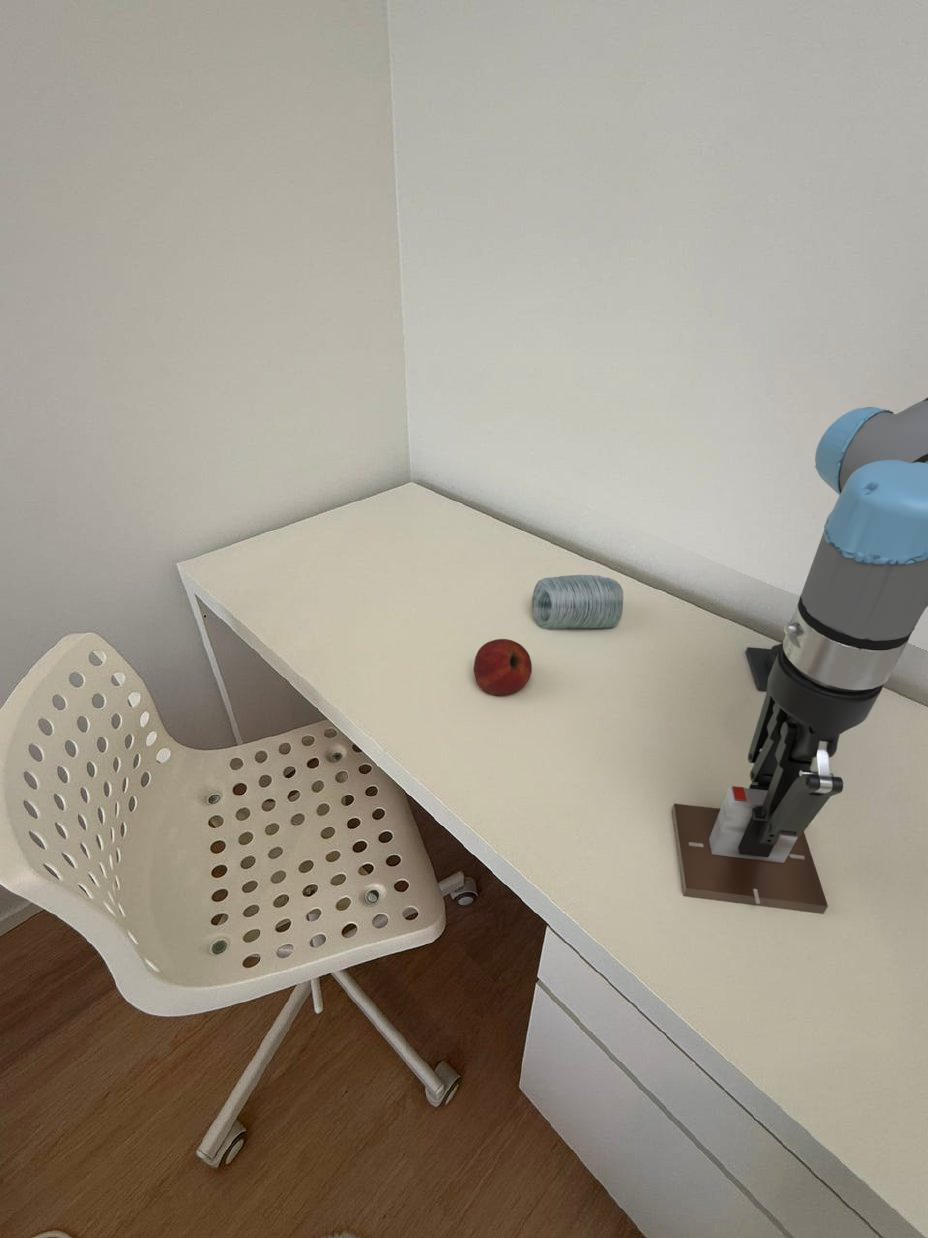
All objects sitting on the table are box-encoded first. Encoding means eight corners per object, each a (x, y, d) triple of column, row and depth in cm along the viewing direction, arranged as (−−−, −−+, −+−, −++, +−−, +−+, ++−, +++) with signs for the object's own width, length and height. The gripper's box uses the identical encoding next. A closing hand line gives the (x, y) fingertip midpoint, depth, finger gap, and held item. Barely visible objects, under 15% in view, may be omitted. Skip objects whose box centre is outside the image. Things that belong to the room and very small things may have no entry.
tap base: (790, 826, 71) (798, 811, 69) (821, 926, 62) (831, 912, 60) (668, 812, 72) (673, 797, 70) (681, 908, 63) (687, 893, 62)
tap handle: (779, 847, 66) (807, 793, 60) (784, 863, 64) (813, 809, 59) (708, 839, 66) (729, 784, 61) (711, 854, 65) (733, 800, 60)
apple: (492, 716, 84) (494, 670, 79) (462, 681, 89) (462, 635, 84) (539, 695, 87) (543, 650, 82) (507, 663, 92) (509, 618, 87)
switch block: (816, 665, 92) (825, 643, 89) (833, 704, 85) (844, 682, 83) (743, 658, 93) (750, 637, 90) (755, 697, 87) (763, 675, 84)
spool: (527, 629, 93) (547, 562, 91) (521, 617, 102) (539, 556, 100) (618, 654, 94) (639, 588, 92) (603, 640, 103) (622, 580, 101)
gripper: (759, 602, 56) (700, 777, 71) (808, 727, 45) (724, 907, 59) (850, 609, 55) (771, 785, 70) (924, 739, 44) (811, 918, 58)
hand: (750, 841), depth 64 cm, fingers closed on tap handle, 2 cm apart
